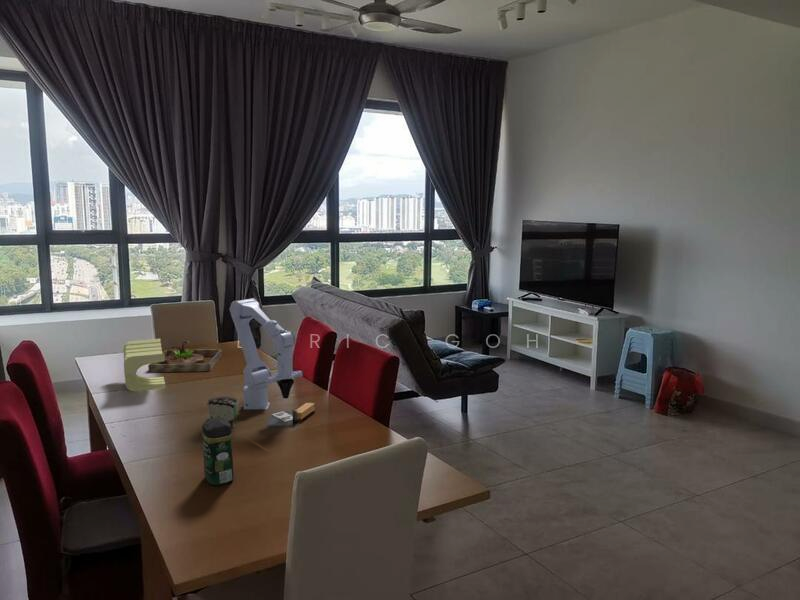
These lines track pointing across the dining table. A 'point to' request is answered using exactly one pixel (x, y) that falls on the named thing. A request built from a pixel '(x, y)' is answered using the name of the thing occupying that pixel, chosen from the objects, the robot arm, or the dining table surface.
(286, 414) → the label far
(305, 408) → the yellow rectangular bar
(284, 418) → the label near
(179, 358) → the plant
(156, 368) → the square wooden planter tray
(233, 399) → the food container
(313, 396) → the dining table surface
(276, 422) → the tray
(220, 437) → the coffee jar
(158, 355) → the slatted curved stool
